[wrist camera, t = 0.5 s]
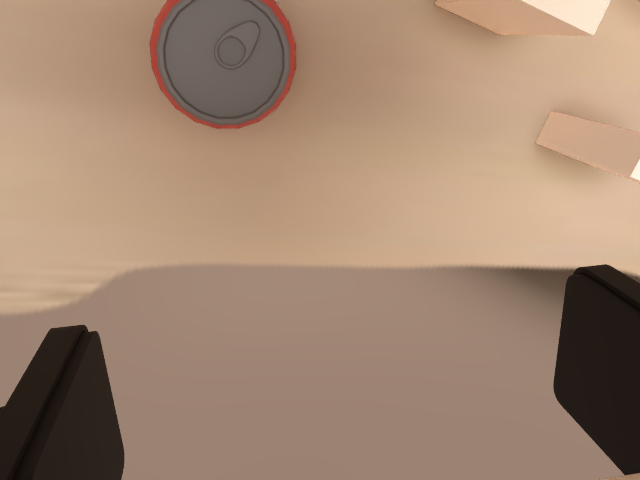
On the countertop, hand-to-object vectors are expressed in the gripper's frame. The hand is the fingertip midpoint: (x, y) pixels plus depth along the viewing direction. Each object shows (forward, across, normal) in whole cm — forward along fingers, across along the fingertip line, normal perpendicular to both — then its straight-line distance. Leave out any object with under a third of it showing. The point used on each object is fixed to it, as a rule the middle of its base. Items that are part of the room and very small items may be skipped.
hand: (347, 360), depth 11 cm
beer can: (+28, +2, -5) cm, 28 cm away
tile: (+27, -14, -7) cm, 32 cm away
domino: (+27, -22, +2) cm, 35 cm away
